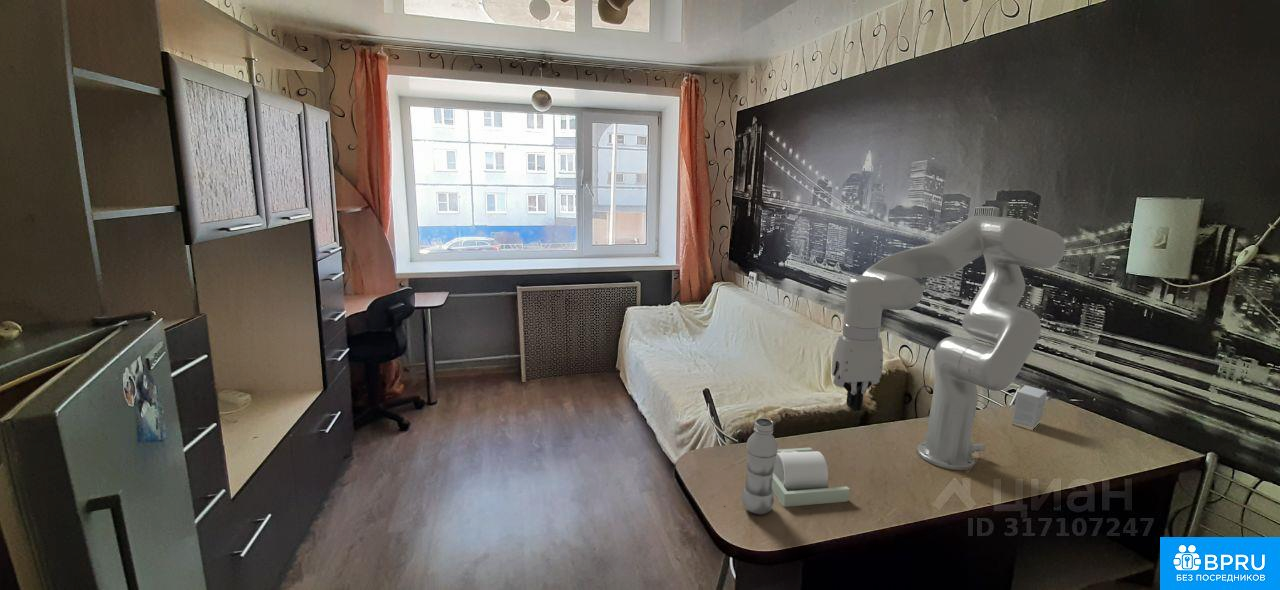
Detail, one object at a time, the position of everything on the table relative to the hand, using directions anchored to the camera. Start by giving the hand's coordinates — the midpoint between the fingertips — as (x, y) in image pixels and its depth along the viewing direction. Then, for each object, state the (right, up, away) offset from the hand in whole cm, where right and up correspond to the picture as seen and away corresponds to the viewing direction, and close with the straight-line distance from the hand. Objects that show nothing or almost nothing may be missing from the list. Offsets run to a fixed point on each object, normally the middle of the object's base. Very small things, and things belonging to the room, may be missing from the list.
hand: (853, 408), depth 120 cm
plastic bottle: (-24, -20, -9) cm, 32 cm away
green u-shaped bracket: (-12, -17, +2) cm, 21 cm away
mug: (-13, -18, +2) cm, 22 cm away
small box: (+64, -12, +33) cm, 73 cm away
